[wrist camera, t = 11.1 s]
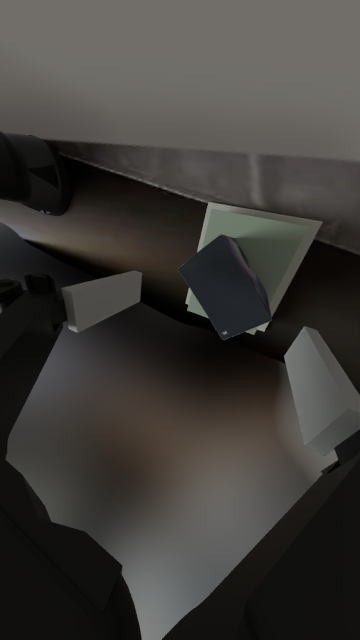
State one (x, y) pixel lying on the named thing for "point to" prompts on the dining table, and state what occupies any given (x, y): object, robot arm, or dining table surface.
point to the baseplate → (296, 259)
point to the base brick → (256, 247)
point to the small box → (227, 287)
